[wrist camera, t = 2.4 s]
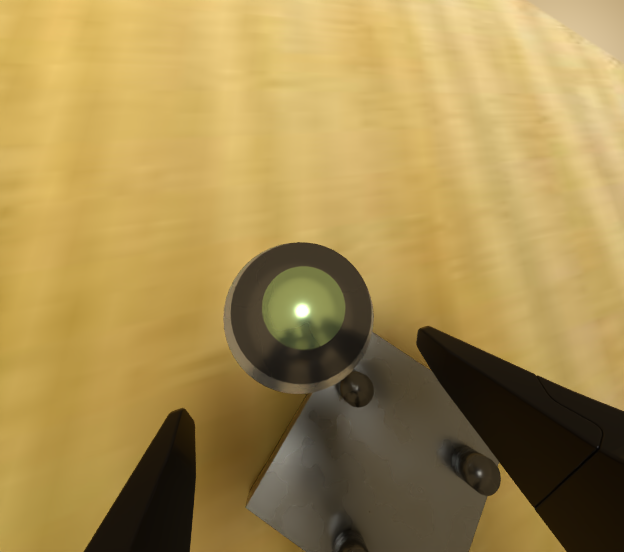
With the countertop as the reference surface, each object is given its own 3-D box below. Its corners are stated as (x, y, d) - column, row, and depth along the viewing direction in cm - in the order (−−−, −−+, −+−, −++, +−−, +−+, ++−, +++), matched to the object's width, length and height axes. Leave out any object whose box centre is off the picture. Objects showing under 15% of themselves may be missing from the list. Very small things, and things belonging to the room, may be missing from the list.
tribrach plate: (494, 417, 19) (534, 432, 16) (421, 617, 15) (455, 685, 12) (349, 321, 19) (361, 318, 16) (249, 492, 16) (240, 527, 13)
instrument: (330, 321, 19) (421, 282, 6) (299, 372, 18) (334, 451, 5) (284, 290, 20) (281, 192, 7) (250, 338, 18) (166, 333, 5)
